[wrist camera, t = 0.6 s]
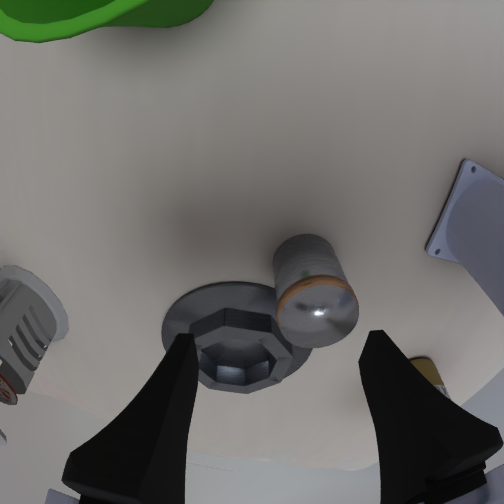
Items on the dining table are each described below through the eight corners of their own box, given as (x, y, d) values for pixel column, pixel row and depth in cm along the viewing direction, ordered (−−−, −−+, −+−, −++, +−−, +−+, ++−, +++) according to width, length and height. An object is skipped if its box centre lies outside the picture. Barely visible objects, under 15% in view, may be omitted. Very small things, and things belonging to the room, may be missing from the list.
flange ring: (336, 296, 23) (343, 318, 21) (287, 389, 30) (289, 409, 28) (166, 267, 22) (158, 288, 20) (161, 371, 28) (156, 392, 26)
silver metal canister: (346, 240, 21) (374, 294, 16) (323, 293, 23) (340, 352, 18) (281, 226, 20) (292, 281, 15) (264, 283, 23) (268, 344, 17)
